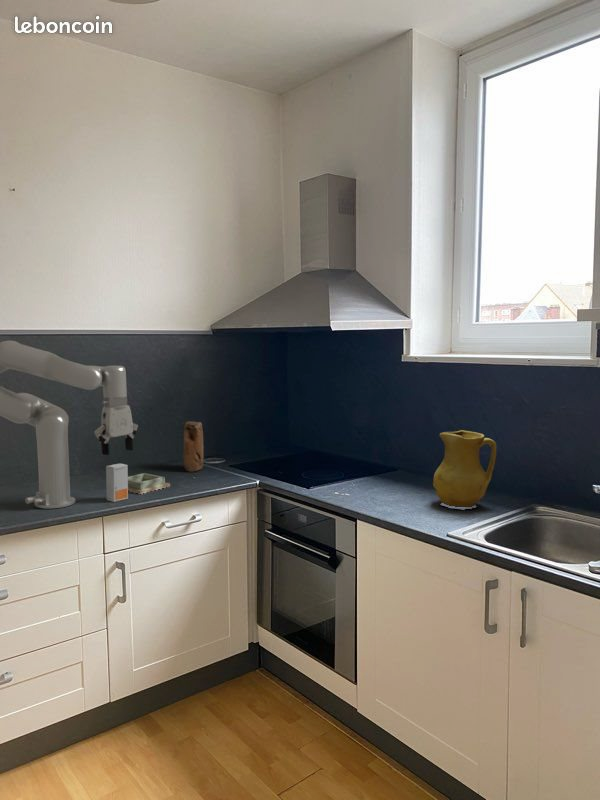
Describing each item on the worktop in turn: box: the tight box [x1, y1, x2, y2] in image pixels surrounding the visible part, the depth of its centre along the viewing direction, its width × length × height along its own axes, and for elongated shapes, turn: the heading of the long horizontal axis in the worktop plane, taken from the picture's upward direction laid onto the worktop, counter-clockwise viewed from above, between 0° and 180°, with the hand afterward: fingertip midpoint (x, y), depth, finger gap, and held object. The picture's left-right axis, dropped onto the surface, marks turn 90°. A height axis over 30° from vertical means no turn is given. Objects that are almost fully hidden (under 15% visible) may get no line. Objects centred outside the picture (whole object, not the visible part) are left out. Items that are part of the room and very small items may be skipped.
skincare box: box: [105, 463, 129, 503], centre depth 214 cm, size 6×4×12 cm
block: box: [183, 421, 204, 473], centre depth 261 cm, size 11×8×20 cm
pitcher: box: [432, 429, 497, 507], centre depth 207 cm, size 17×19×25 cm
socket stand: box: [128, 472, 171, 495], centre depth 231 cm, size 14×14×4 cm
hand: (117, 452), depth 213 cm, fingers open, 9 cm apart
